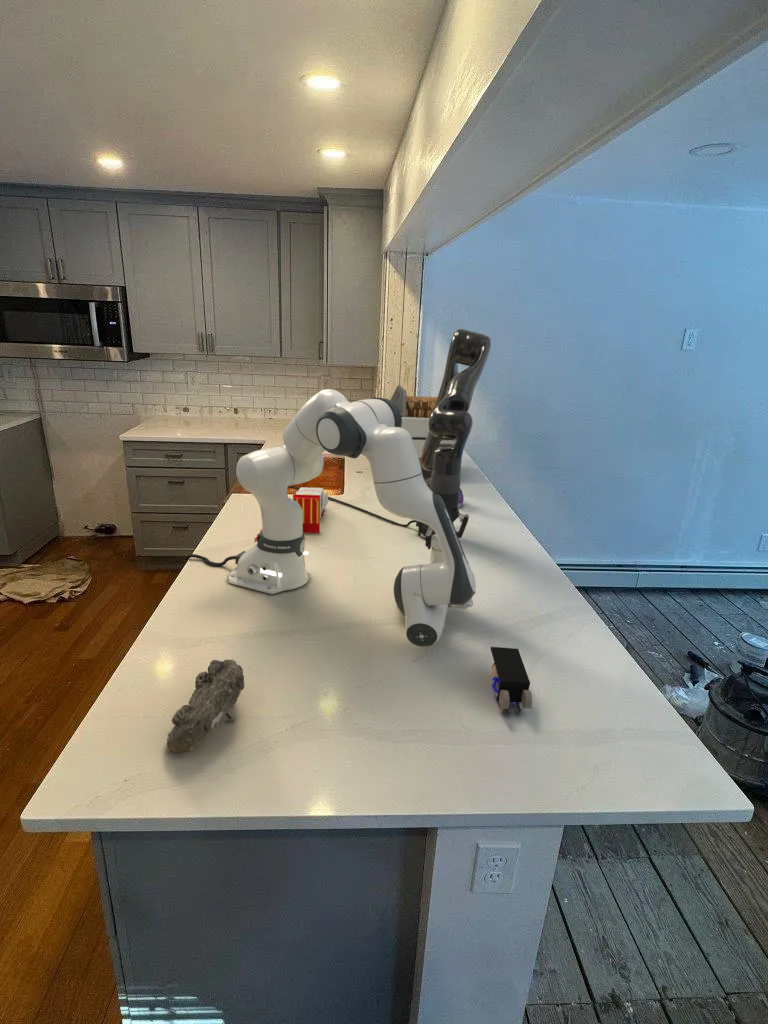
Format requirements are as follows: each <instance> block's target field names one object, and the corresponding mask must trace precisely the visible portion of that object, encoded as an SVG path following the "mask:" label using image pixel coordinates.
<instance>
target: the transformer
mask: <svg viewBox="0 0 768 1024" xmlns="http://www.w3.org/2000/svg"><path fill="white" fill-rule="evenodd" d="M407 394H408V393H407V390H406V389H404V388H403V387H402V385H399V384H398V385H397V386H396V388H395V390H394V392H393V394H392V395H391V398H390V400H391V401H393V402H394V403H395V404H396V405H397V406H398V408H399V410H400V412H401V416H402V425H401V428H403V429H405V430H407V431H408V432H409V433H410V435H411V437H412V439H413V442H414V445H415V447H416V450H417V453H418V457H419V460H420V464H421V454H422V449H423V446H424V443H425V440H426V438H427V435H428V433H429V427H428V423H429V418H430V416H431V414H432V412H433V410H434V409H435V405H436V401H437V398H438V396H415V395H414V396H413V395H412V396H411V395H407ZM455 442H456V439H449V438H443V439H442V441H441V442H440V443H450V444H452V445H453V444H455ZM462 461H463V460H462ZM462 461H461V463H462ZM421 467H422V465H421ZM461 472H462V469H461V470H460V475H461Z"/></svg>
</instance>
